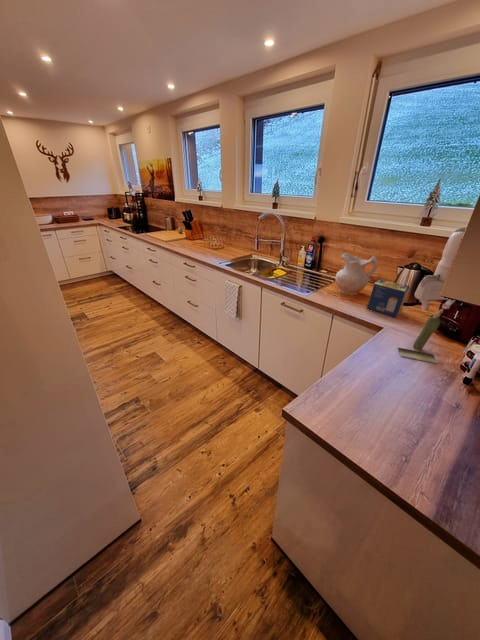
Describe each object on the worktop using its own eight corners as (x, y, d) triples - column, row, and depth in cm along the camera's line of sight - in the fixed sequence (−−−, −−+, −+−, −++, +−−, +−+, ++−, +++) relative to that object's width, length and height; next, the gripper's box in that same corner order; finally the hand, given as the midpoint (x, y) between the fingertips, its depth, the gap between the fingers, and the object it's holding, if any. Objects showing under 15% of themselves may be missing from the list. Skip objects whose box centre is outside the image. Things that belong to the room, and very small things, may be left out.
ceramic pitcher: (365, 290, 176) (374, 253, 165) (371, 300, 158) (382, 258, 148) (331, 287, 180) (338, 250, 169) (334, 295, 162) (342, 255, 152)
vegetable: (409, 347, 113) (434, 305, 105) (420, 351, 111) (446, 309, 104) (411, 351, 109) (436, 307, 101) (422, 355, 108) (449, 311, 100)
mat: (429, 349, 113) (430, 348, 113) (436, 364, 104) (437, 362, 104) (396, 342, 117) (396, 341, 117) (400, 356, 108) (401, 355, 107)
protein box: (371, 303, 154) (379, 278, 147) (400, 312, 145) (410, 286, 138) (365, 309, 147) (373, 283, 140) (395, 318, 138) (405, 291, 131)
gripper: (431, 278, 90) (417, 314, 96) (480, 276, 93) (463, 311, 100) (417, 272, 95) (405, 306, 102) (464, 271, 99) (449, 304, 105)
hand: (434, 309), depth 101 cm, fingers open, 8 cm apart
